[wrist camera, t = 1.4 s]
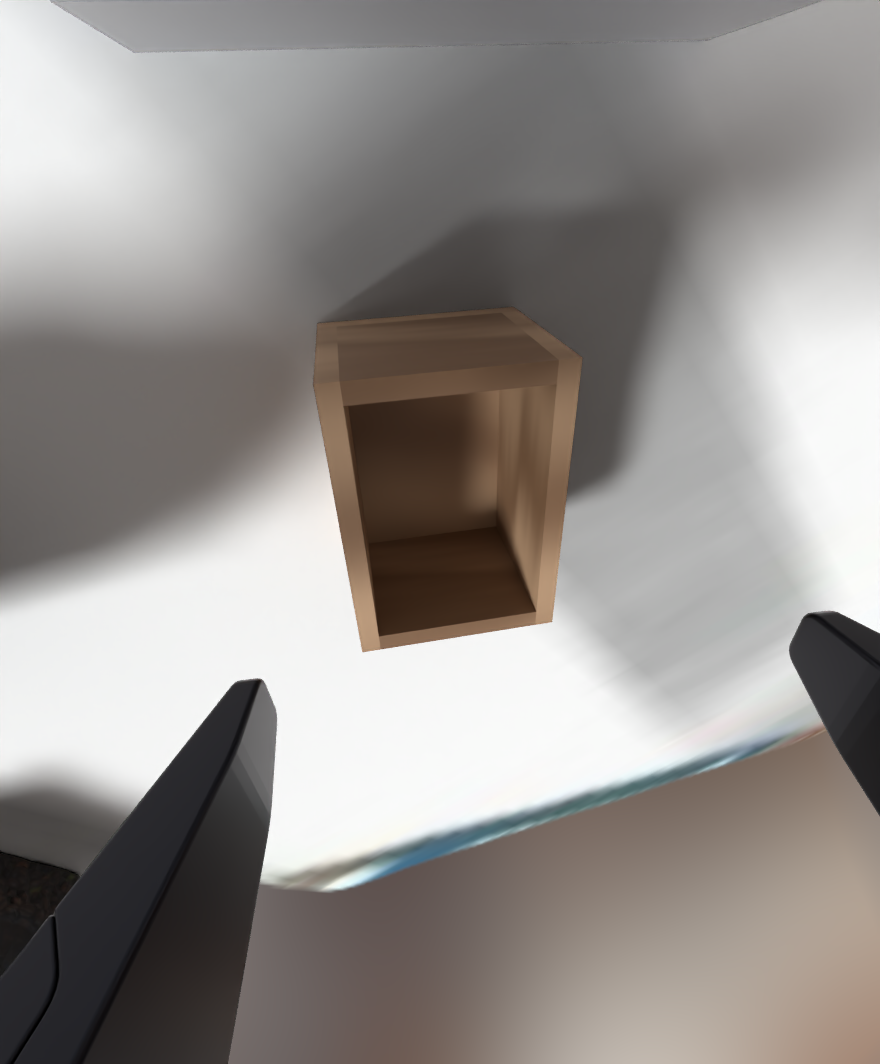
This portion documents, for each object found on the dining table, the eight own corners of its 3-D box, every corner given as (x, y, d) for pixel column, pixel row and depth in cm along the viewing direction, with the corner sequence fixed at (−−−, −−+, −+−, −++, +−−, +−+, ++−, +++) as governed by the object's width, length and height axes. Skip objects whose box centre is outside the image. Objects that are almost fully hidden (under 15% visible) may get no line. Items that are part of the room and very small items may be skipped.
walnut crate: (504, 525, 23) (552, 621, 18) (354, 545, 22) (362, 652, 17) (512, 305, 18) (582, 357, 13) (317, 322, 17) (313, 384, 12)
